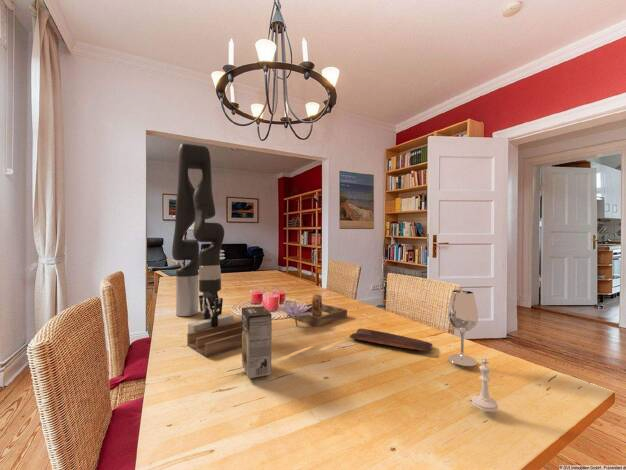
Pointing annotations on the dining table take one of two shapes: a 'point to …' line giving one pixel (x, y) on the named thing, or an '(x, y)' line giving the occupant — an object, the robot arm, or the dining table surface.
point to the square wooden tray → (333, 316)
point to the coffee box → (256, 341)
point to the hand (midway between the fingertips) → (210, 325)
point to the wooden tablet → (391, 339)
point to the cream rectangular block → (209, 323)
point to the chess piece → (484, 391)
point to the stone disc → (317, 305)
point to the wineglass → (462, 321)
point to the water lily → (295, 310)
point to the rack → (216, 339)
